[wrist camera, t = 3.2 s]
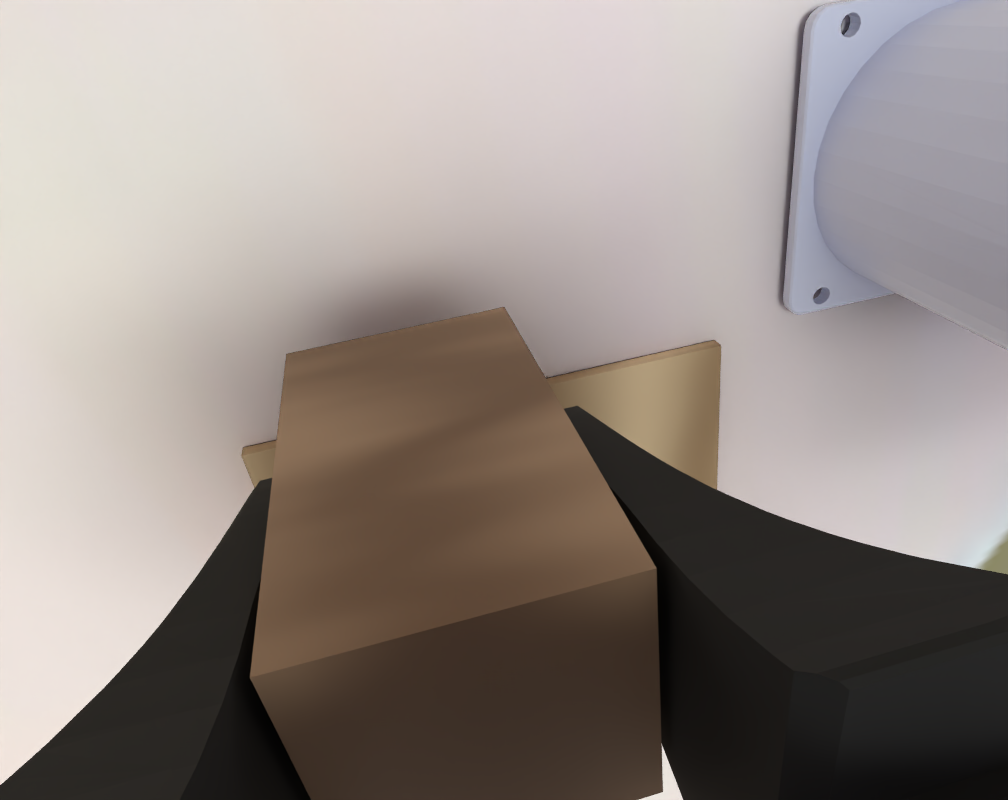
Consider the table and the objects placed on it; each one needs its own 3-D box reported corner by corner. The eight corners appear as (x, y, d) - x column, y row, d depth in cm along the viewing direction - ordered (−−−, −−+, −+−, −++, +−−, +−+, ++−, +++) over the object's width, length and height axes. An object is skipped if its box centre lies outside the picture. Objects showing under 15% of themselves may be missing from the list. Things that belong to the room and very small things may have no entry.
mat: (714, 340, 21) (720, 345, 21) (707, 649, 28) (712, 657, 28) (242, 448, 19) (241, 455, 19) (363, 747, 27) (363, 756, 26)
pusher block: (504, 307, 13) (655, 568, 7) (529, 478, 15) (662, 792, 9) (286, 353, 12) (249, 677, 6) (343, 523, 14) (355, 886, 9)
